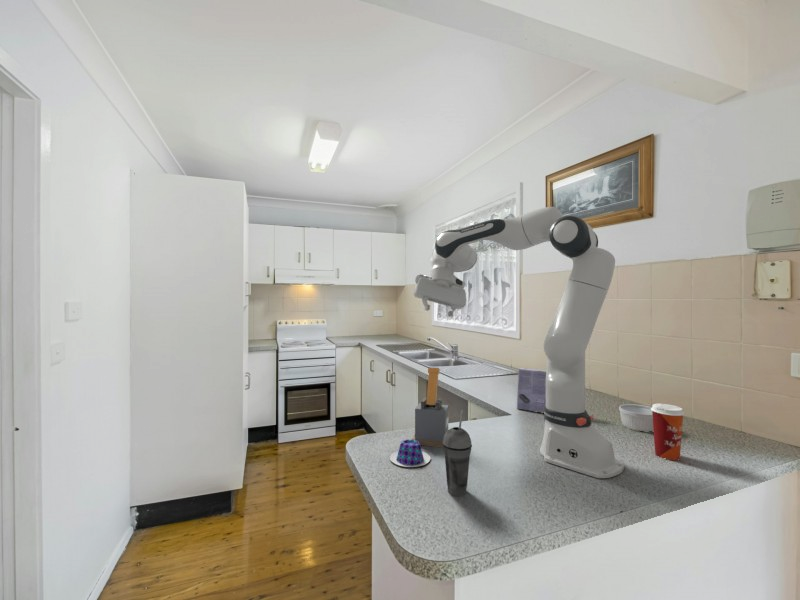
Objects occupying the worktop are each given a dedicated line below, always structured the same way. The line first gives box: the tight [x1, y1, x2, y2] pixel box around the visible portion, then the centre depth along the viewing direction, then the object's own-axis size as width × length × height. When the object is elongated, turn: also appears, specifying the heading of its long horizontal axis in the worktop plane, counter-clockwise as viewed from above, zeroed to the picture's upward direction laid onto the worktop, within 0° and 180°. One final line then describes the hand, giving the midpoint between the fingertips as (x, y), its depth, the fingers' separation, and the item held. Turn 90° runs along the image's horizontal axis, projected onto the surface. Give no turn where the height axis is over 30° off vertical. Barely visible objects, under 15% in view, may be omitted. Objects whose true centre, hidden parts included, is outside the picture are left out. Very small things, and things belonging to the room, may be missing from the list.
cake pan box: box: [516, 367, 546, 414], centre depth 153 cm, size 19×5×18 cm, turn 58°
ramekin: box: [618, 403, 653, 432], centre depth 134 cm, size 13×13×7 cm
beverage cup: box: [442, 409, 473, 497], centre depth 89 cm, size 7×7×20 cm
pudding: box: [389, 438, 431, 468], centre depth 107 cm, size 12×12×5 cm
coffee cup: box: [651, 403, 685, 461], centre depth 109 cm, size 8×8×15 cm
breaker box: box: [411, 397, 450, 448], centre depth 121 cm, size 8×12×14 cm, turn 74°
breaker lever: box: [426, 367, 441, 408], centre depth 122 cm, size 2×4×13 cm, turn 74°
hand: (438, 313), depth 131 cm, fingers open, 8 cm apart
